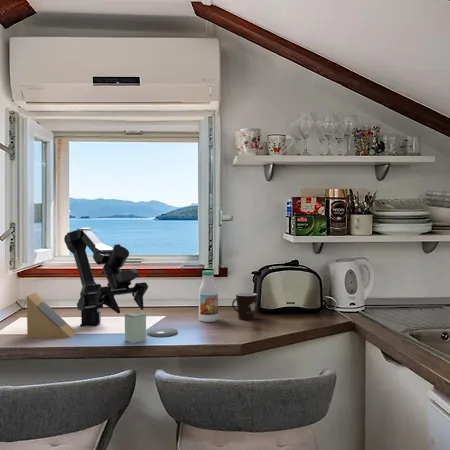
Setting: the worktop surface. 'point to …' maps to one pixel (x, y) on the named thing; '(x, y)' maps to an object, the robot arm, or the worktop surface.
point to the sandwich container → (45, 320)
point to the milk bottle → (208, 298)
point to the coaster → (162, 332)
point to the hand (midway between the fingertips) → (131, 311)
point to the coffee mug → (245, 305)
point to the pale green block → (135, 327)
